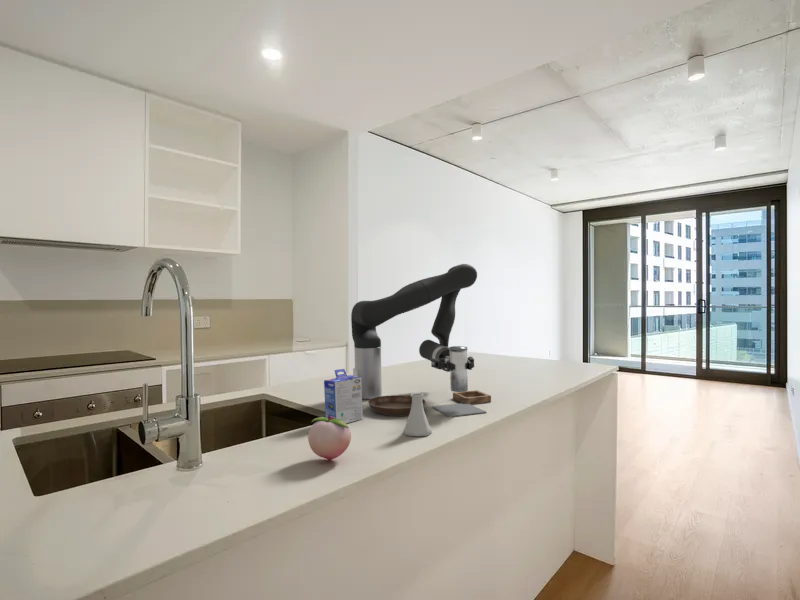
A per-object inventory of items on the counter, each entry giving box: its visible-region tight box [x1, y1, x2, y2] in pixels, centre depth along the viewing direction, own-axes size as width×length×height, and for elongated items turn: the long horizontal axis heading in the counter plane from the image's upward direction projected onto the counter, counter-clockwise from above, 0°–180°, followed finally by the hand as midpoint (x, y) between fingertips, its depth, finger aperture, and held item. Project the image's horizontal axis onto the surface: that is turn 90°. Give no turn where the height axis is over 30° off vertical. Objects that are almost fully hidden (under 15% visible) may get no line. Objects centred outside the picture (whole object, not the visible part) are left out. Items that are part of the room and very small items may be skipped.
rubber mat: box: [432, 402, 487, 418], centre depth 140 cm, size 12×12×1 cm
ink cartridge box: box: [323, 368, 363, 424], centre depth 129 cm, size 10×6×14 cm, turn 137°
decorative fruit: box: [307, 414, 352, 461], centre depth 99 cm, size 9×8×10 cm
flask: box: [403, 392, 433, 437], centre depth 118 cm, size 7×7×10 cm
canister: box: [448, 345, 469, 393], centre depth 139 cm, size 5×5×13 cm
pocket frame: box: [452, 390, 492, 405], centre depth 152 cm, size 9×9×2 cm
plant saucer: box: [367, 394, 427, 417], centre depth 141 cm, size 18×18×3 cm
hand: (461, 366), depth 137 cm, fingers closed on canister, 5 cm apart
